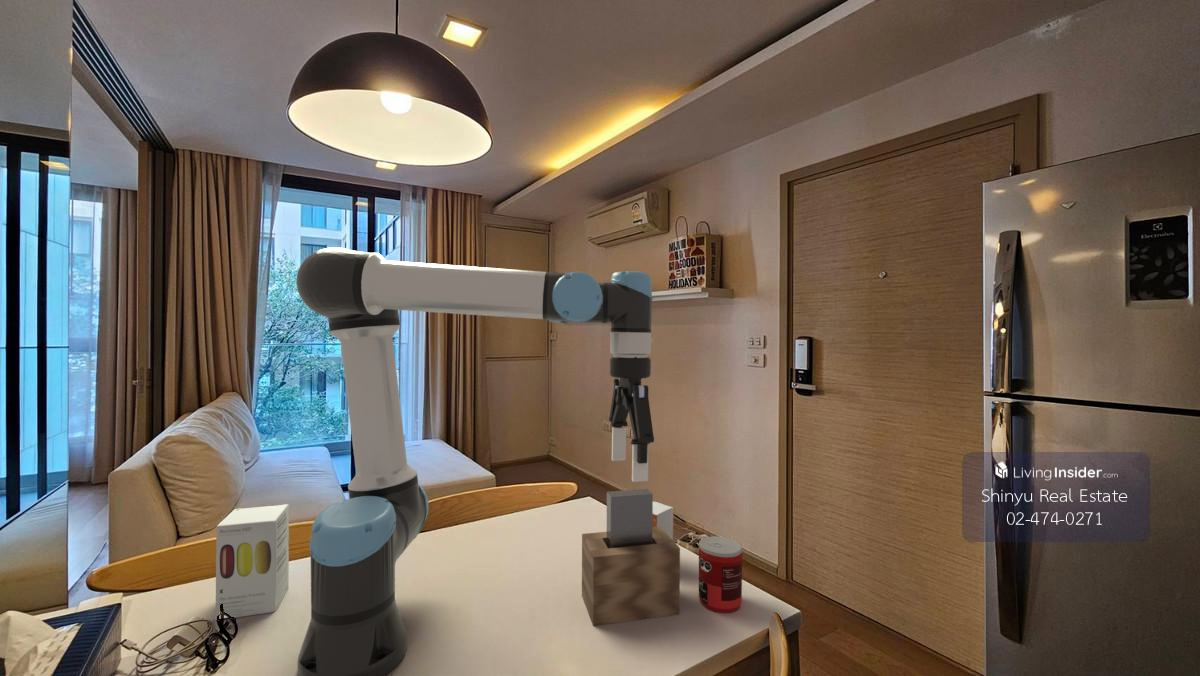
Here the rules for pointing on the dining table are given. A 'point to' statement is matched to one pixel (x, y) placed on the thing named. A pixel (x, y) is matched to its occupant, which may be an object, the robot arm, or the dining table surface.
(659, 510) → the small box
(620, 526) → the grey slab
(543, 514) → the dining table surface
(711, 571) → the canned food
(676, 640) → the dining table surface
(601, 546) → the wooden planter box
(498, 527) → the dining table surface
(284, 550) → the supplement box
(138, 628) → the dining table surface
